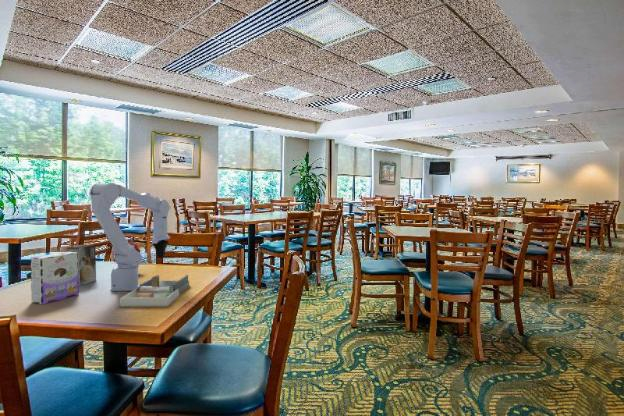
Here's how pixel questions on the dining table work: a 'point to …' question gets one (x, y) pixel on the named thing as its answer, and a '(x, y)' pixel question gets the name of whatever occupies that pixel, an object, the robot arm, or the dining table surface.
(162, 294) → the sage tile
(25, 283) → the dining table surface
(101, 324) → the dining table surface
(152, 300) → the box
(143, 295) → the terracotta tile
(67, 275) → the candy box
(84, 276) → the coffee box
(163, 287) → the pale grey block
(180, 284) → the plate
